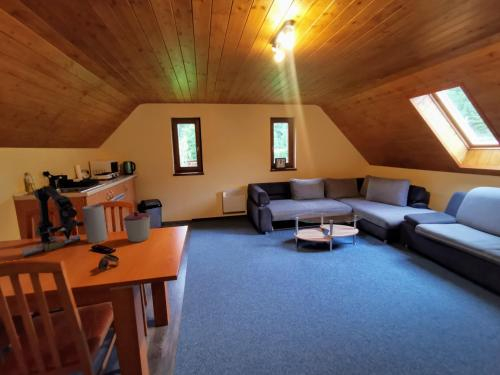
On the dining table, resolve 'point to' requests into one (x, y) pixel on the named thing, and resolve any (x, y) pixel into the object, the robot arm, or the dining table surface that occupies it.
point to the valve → (50, 245)
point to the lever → (55, 239)
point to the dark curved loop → (105, 262)
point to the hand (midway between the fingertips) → (68, 239)
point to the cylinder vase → (95, 223)
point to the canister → (137, 226)
